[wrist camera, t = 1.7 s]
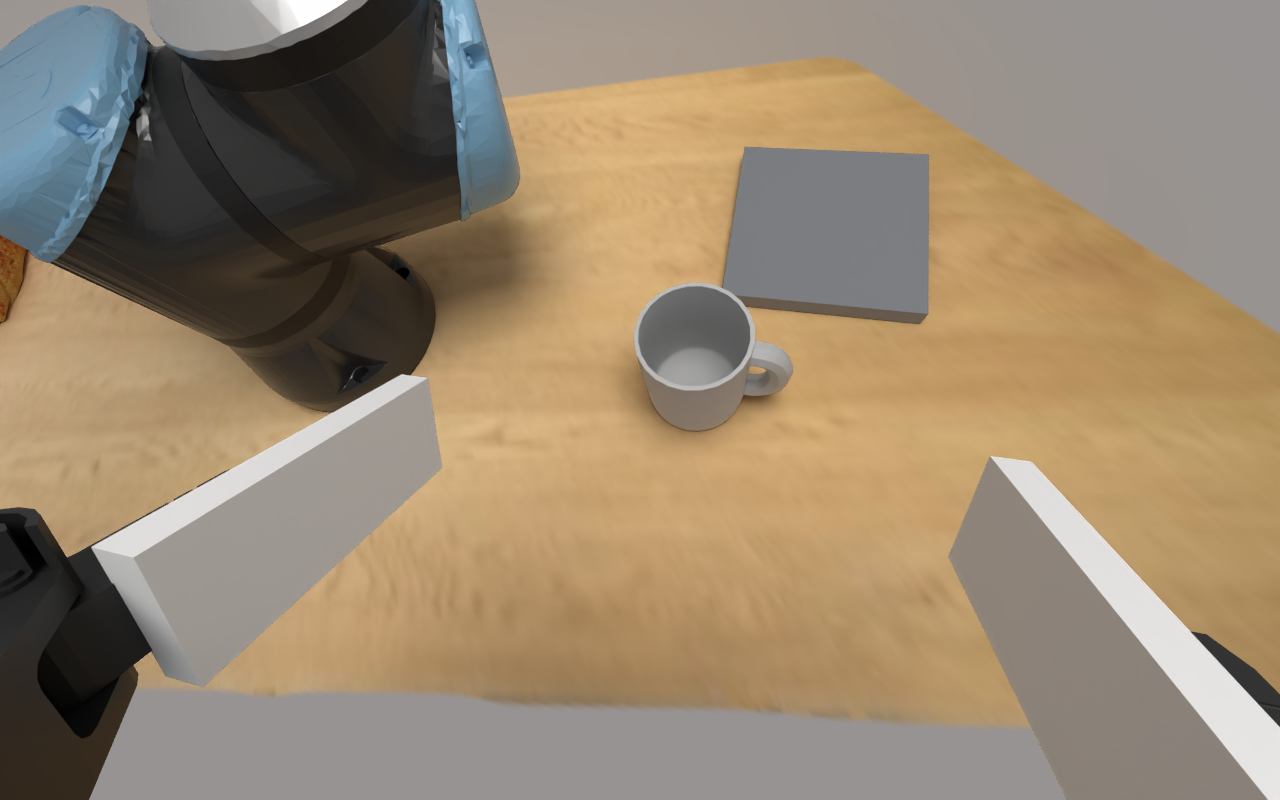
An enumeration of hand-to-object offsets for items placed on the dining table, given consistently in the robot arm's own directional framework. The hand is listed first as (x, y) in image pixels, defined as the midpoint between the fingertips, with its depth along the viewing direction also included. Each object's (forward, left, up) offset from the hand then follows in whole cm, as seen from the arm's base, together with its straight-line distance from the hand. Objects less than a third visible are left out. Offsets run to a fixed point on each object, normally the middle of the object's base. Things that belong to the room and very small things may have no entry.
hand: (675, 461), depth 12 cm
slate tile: (+7, +26, -23) cm, 36 cm away
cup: (0, +11, -24) cm, 26 cm away
